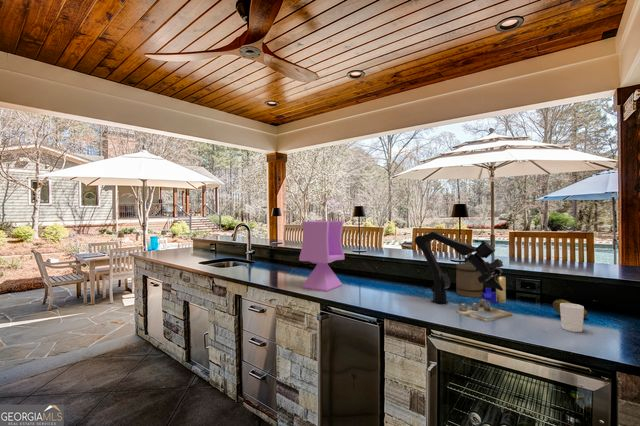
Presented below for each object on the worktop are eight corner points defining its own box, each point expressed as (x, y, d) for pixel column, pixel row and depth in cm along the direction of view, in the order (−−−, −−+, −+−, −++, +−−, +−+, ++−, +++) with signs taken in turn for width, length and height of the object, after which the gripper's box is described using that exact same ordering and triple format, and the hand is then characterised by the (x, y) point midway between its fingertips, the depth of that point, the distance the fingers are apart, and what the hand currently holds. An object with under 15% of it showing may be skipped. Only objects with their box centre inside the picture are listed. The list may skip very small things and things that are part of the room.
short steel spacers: (458, 310, 155) (458, 303, 155) (481, 305, 163) (481, 298, 163) (473, 314, 148) (473, 307, 148) (496, 309, 156) (496, 302, 156)
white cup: (555, 326, 135) (555, 303, 135) (572, 325, 135) (571, 302, 135) (571, 333, 127) (571, 308, 127) (589, 332, 127) (589, 307, 128)
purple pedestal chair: (327, 292, 197) (327, 221, 197) (299, 288, 209) (299, 221, 210) (344, 285, 216) (344, 221, 216) (317, 282, 228) (317, 220, 228)
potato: (589, 322, 139) (588, 304, 139) (553, 317, 146) (552, 300, 147) (587, 317, 146) (586, 300, 146) (552, 312, 153) (552, 296, 153)
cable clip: (482, 297, 183) (482, 287, 183) (490, 298, 182) (490, 287, 182) (489, 303, 171) (489, 292, 171) (498, 303, 170) (498, 292, 170)
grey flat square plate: (471, 314, 148) (471, 313, 148) (482, 312, 152) (482, 310, 152) (487, 319, 141) (487, 318, 141) (498, 316, 145) (498, 315, 145)
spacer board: (455, 312, 155) (455, 310, 155) (481, 306, 164) (481, 304, 164) (486, 322, 140) (486, 319, 140) (512, 315, 150) (512, 313, 150)
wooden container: (484, 293, 193) (483, 257, 193) (481, 298, 180) (481, 260, 180) (458, 290, 201) (458, 256, 201) (454, 295, 188) (453, 259, 188)
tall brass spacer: (494, 301, 152) (494, 276, 152) (499, 300, 153) (499, 275, 153) (502, 303, 148) (502, 278, 148) (507, 302, 150) (507, 277, 150)
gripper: (484, 255, 147) (511, 282, 139) (498, 252, 160) (523, 276, 152) (467, 270, 153) (492, 296, 145) (481, 265, 166) (505, 290, 158)
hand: (503, 289), depth 150 cm, fingers closed on tall brass spacer, 4 cm apart
